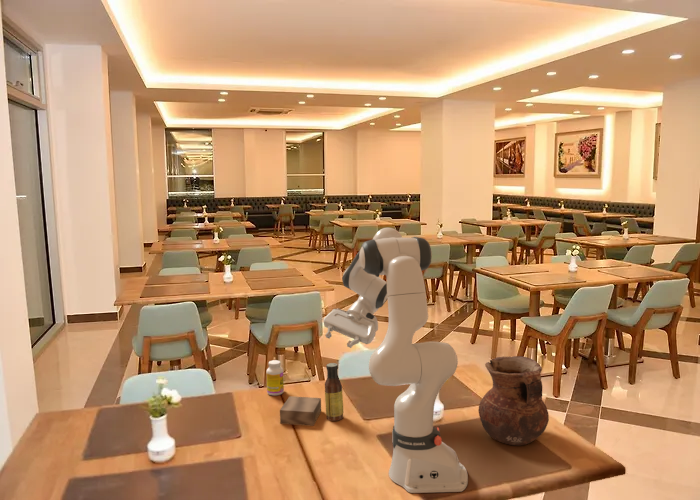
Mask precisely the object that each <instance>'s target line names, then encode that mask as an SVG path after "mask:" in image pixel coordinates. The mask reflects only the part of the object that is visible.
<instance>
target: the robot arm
mask: <svg viewBox="0 0 700 500" xmlns="http://www.w3.org/2000/svg"><path fill="white" fill-rule="evenodd" d="M432 252H433V251H432V248H431V245H430V243H429V241H428V240H427V239H426V238H423V237H420V236H418V237H417V236H413V237H403V235H402V234H401V233H400V232H399V231H398V230H397V229H395V228H393V227H383V228H381V229H379V230H378V231H377V232H376V233H375V234H374V236H373V238H372V239H368V240H366V241H364V242H363V243H362V245H361V246H360V249H359V251H358V252H357V254H356V255H355V257H354V258H353V260H352V261H351V263H350V265H349V266H347V268H346V269H345V271H344V272H343V273H342V274H343V275H342V277H341V280H342V284H343V287H345V288H347V289H349V290H351V291H352V292H354V293H356V294H357V295H358V298H357V300H355V301H354V302H353V303H352V305H351V306H350V307H349V308H348V309H347V310H344V309H342V308H339V307H338V308H333V309H331V311H330V312H329V313H328V314H327V315H326V316H324V318H323V325H324V328H327V332H326V333H325V335H324V336H325V338H326V339H329V340H330V339H331V337H332V332H333V331H334V332H336V333H339V334H341V335H343V336H346V337H348V338H350V339H353V340H349V341H348V342H347V343H346V347H348V348H350V349H351V348H353V346H356V345H358V344H359V343H360V342H361V343H362V344H365V345H369V344H371V343H372V341H373V340H374V338H375V337H376V333H377V331H378V330H379V322H378V317H377V316H375V315H374V314H375V313H377V312H378V311H379V309H380V308H382V307H383V306H384V305H385V304H386V302H387V311H388V326H387V331H386V333H385V335H384V337H383V340H382V342H381V343H380V345H379V346H378V347H377V348H376V349H375V350H374V351H373V352H372V354H371V355H370V358H369V361H368V370H369V371H368V372H369V374H370V376H371V379H373V381H374V382H375V383H376V384H377V385H379V386H386V387H387V386H389V387H397V386H404V385H405V386H407V385H409V386H408V387H407V389H406V390H404V392H402V393H400V394H399V395H398V396H397V398H396V399H395V402H394V405H393V411H394V413H393V414H394V415H393V423H394V425H393V426H392V430H391V431H392V432H391V433H392V434H391V435H392V437H391V438H392V439H391V441H392V447H393V449H392V450H393V452H392V458H391V461H390V462H391V463H390V467H389V469H388V476H389V478H390V479H391V481H392V482H394V483H396V484H397V485H399V486H401V487H403V488H404V489H405V490H406V492H408V493H411V494H421V493H422V494H423V493H427V494H429V493H457V492H458V493H459V492H460V493H461V492H463V491H464V490H465V489H467V486H468V484H469V483H468V482H469V476H468V471H467V468H466V467H465V466H464V464H462V463H461V462H460V460H459V458H458V454H457V452H456V450H455V449H453V448H452V447H451V446H450V445H447V444H446V443H445V442H443V441H442V440H443V439H442V437H441V432H440V429H439V426H438V427H437V428H435V427H434V409H435V403H436V400H437V396H439V395H438V394H439V393H440V390H441V388H442V387H443V386H444V384H445V383H446V382H447V380H449V378H451V377H452V376H454V374H455V373H456V370H457V367H458V362H459V361H458V355H457V353H456V350H455V348H454V347H452V345H451V344H449V342H442V341H441V342H440V341H424V342H417V343H415V342H414V343H413V338H414V335H415V333H416V332H417V331H419V330H420V329H422V328H423V327H424V326H425V325H426V323H427V321H428V319H429V311H428V310H429V308H428V302H427V300H428V299H427V292H426V285H425V280H424V279H425V278H424V275H423V272H422V271H424V270H427V269H429V267H430V265H431V263H432V255H433V253H432ZM380 276H385V277H386V278H385V279H386V281H385V280H384V279H383V278H381V277H380Z"/></svg>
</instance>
